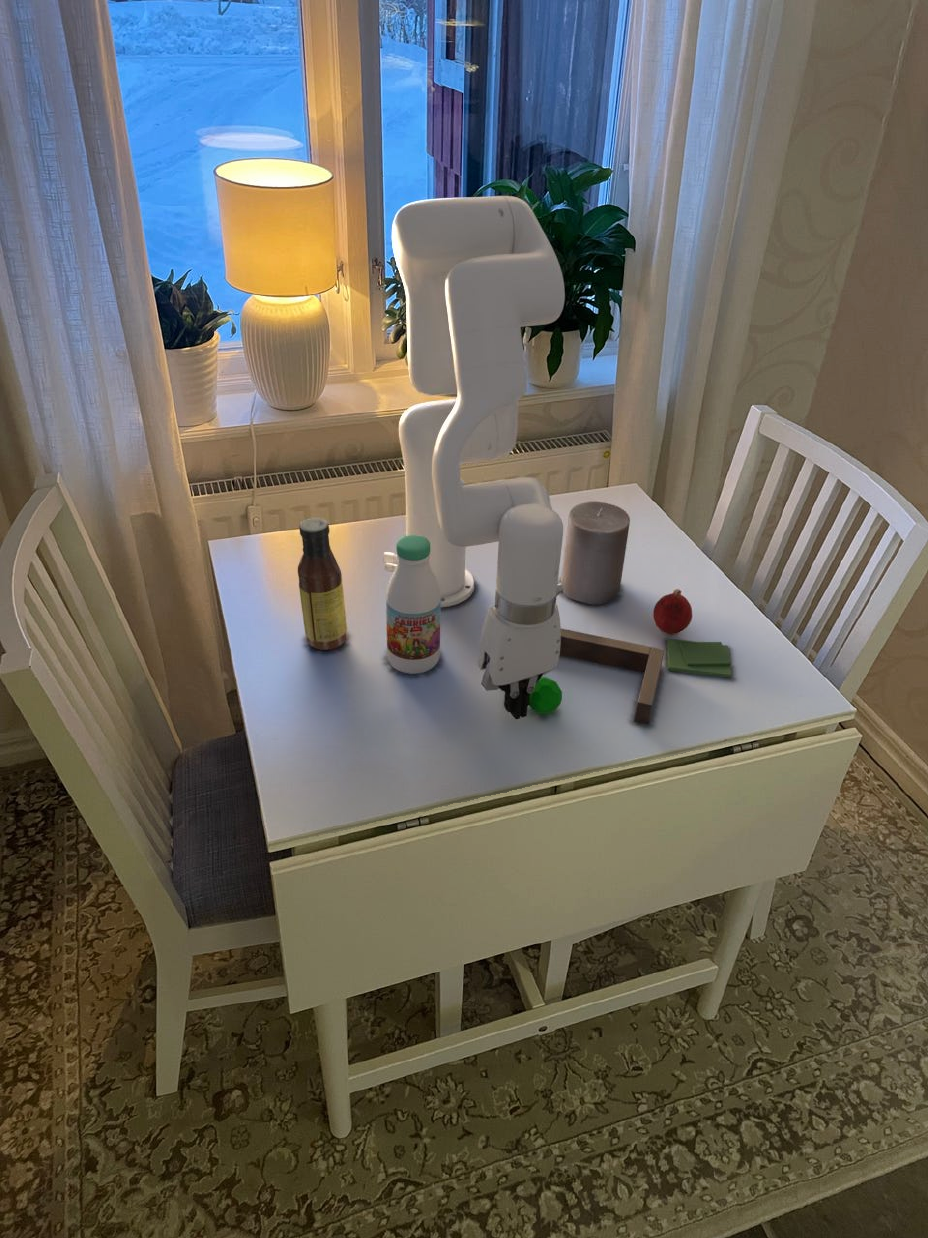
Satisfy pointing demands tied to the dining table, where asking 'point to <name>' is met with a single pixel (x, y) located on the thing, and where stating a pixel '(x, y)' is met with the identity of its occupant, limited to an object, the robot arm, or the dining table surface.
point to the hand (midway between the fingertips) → (515, 711)
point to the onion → (672, 613)
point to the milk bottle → (413, 609)
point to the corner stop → (619, 662)
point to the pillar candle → (594, 552)
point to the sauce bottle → (321, 588)
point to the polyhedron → (545, 696)
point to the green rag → (699, 658)
